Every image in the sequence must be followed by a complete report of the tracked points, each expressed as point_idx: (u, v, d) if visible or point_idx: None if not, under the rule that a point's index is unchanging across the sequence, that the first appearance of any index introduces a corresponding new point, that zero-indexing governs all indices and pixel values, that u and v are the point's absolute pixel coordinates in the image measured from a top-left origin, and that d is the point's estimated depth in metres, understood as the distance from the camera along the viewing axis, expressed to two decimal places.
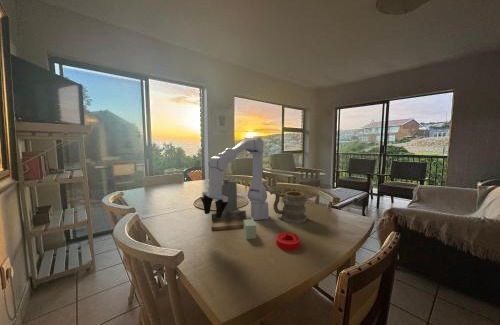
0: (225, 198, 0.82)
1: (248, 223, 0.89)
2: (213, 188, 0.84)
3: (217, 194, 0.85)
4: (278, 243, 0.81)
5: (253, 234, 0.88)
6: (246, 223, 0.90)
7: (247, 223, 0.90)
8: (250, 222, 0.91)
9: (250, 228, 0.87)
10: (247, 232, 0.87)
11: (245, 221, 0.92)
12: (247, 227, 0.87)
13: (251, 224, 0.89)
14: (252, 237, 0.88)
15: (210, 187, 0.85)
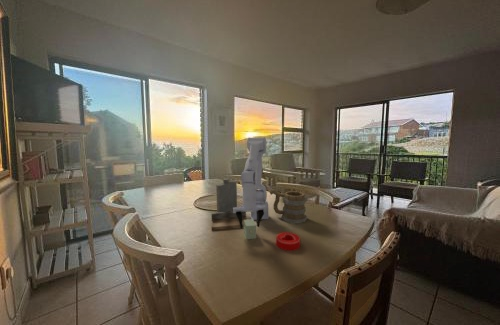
0: None
1: (248, 223, 0.89)
2: (254, 202, 0.88)
3: (255, 206, 0.90)
4: (278, 243, 0.81)
5: (253, 234, 0.88)
6: (246, 223, 0.90)
7: (247, 223, 0.90)
8: (250, 222, 0.91)
9: (250, 228, 0.87)
10: (247, 232, 0.87)
11: (245, 221, 0.92)
12: (247, 227, 0.87)
13: (251, 224, 0.89)
14: (252, 237, 0.88)
15: (250, 202, 0.87)
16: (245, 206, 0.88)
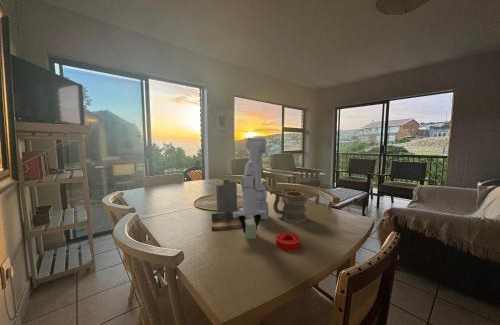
0: None
1: (248, 223, 0.89)
2: (254, 207, 0.88)
3: (255, 211, 0.90)
4: (278, 243, 0.81)
5: (253, 234, 0.88)
6: (246, 223, 0.90)
7: (247, 223, 0.90)
8: (250, 222, 0.91)
9: (250, 228, 0.87)
10: (247, 232, 0.87)
11: (245, 221, 0.92)
12: (247, 227, 0.87)
13: (251, 224, 0.89)
14: (252, 237, 0.88)
15: (250, 207, 0.87)
16: (245, 211, 0.88)
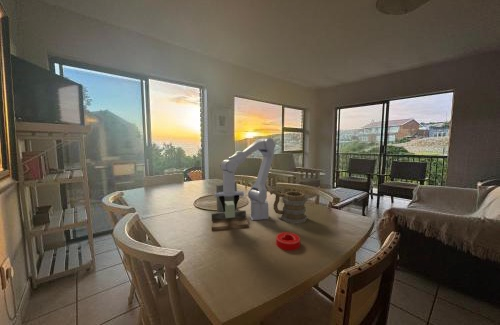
0: (243, 193, 1.01)
1: (228, 204, 0.99)
2: (232, 188, 0.98)
3: (234, 191, 1.00)
4: (278, 243, 0.81)
5: (232, 213, 0.98)
6: (226, 204, 0.99)
7: (227, 204, 1.00)
8: (230, 203, 1.00)
9: (229, 208, 0.97)
10: (226, 211, 0.97)
11: (225, 202, 1.01)
12: (226, 207, 0.97)
13: (230, 204, 0.99)
14: (231, 216, 0.98)
15: (229, 187, 0.97)
16: (225, 191, 0.98)
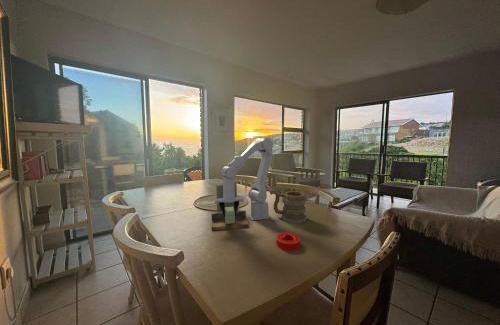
0: None
1: (228, 210, 1.00)
2: (232, 194, 0.99)
3: (234, 198, 1.01)
4: (278, 243, 0.81)
5: (232, 219, 0.99)
6: (226, 210, 1.01)
7: (227, 210, 1.01)
8: (230, 209, 1.02)
9: (229, 214, 0.99)
10: (226, 217, 0.98)
11: (225, 208, 1.03)
12: (226, 213, 0.98)
13: (230, 210, 1.00)
14: (231, 222, 0.99)
15: (229, 194, 0.99)
16: (225, 197, 0.99)
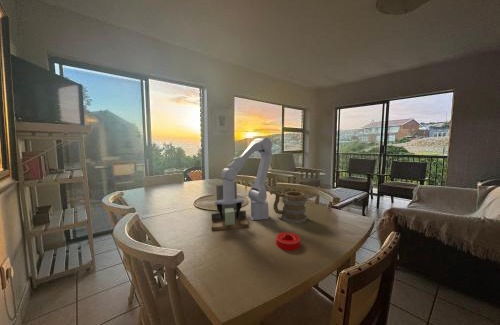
0: None
1: (228, 211, 1.01)
2: (232, 196, 1.00)
3: (234, 199, 1.01)
4: (278, 243, 0.81)
5: (232, 220, 0.99)
6: (226, 211, 1.01)
7: (227, 211, 1.01)
8: (230, 210, 1.02)
9: (229, 215, 0.99)
10: (226, 218, 0.99)
11: (225, 209, 1.03)
12: (226, 214, 0.98)
13: (230, 211, 1.00)
14: (231, 223, 0.99)
15: (229, 196, 0.99)
16: (225, 199, 1.00)
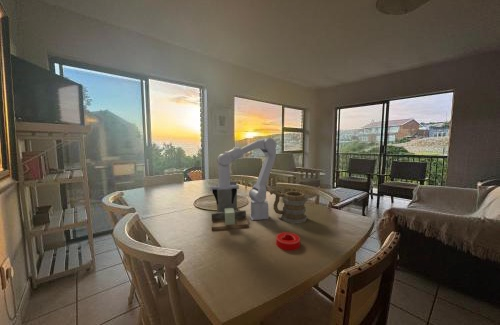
0: (238, 186, 1.04)
1: (228, 211, 1.01)
2: (228, 181, 1.01)
3: (229, 185, 1.03)
4: (278, 243, 0.81)
5: (232, 220, 0.99)
6: (226, 211, 1.01)
7: (227, 211, 1.01)
8: (230, 210, 1.02)
9: (229, 215, 0.99)
10: (226, 218, 0.99)
11: (225, 209, 1.03)
12: (226, 214, 0.98)
13: (230, 211, 1.00)
14: (231, 223, 0.99)
15: (224, 181, 1.00)
16: (220, 184, 1.01)
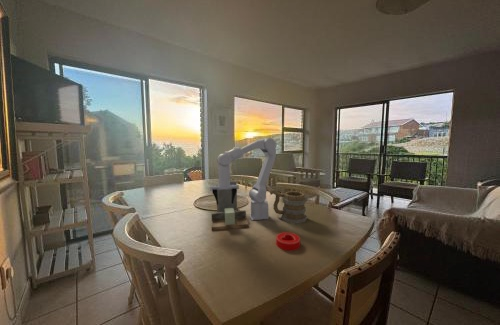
0: (238, 186, 1.04)
1: (228, 211, 1.01)
2: (228, 181, 1.01)
3: (229, 185, 1.03)
4: (278, 243, 0.81)
5: (232, 220, 0.99)
6: (226, 211, 1.01)
7: (227, 211, 1.01)
8: (230, 210, 1.02)
9: (229, 215, 0.99)
10: (226, 218, 0.99)
11: (225, 209, 1.03)
12: (226, 214, 0.98)
13: (230, 211, 1.00)
14: (231, 223, 0.99)
15: (224, 181, 1.00)
16: (220, 184, 1.01)
